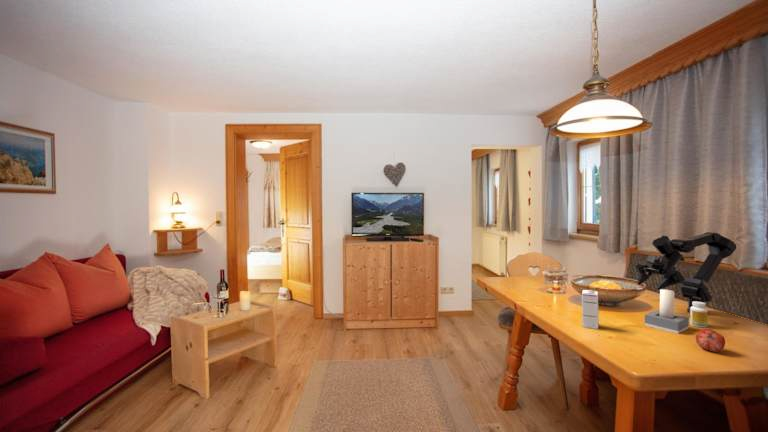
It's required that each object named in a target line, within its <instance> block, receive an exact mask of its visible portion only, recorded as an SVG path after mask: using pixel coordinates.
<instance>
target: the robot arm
mask: <svg viewBox="0 0 768 432" xmlns="http://www.w3.org/2000/svg"><path fill="white" fill-rule="evenodd" d="M652 245H653V247H654V248H655V249H656V250H657V252H658V253H659V254H660V256H656V255H650V254H648V255H646V258H645V263H647V264H643V263H637V264H636V265H635V268H634V269H636V270H637V272H638V279H637V285H638V286H640V285H642V284H643V283H645V282H646V281H647V280H648V279H650V278H651V276H652V274H653V275H654V274H655V275H657V276H662V277H663V278H662V280H661V281H660V283H658V285H657V286H656V289H657V290H658V291H660V290H661V289H665V288H668V287H670V286H674V285H678V284H681V287H680V289H681V290H680V291H681V293H682V297H683V298H687V299H688V303H687V304H688V307H687V308H686V312H687V313H690V307H692V306H693V305H692V302H693V301H698V302H703V303H705V304H706V302H707V303H708V302H709V303H710V302H712V295H711V294H710V292H709V286H708V282H709V281H710V279H711V278H712V276H713V275H714V273H715V272H716V270H717V268H718V267H719V266H720V264H721V262H722V261H723V259H725V258H728V257H731V256H732V254H734V253H735V251H736V250H737V245H736V243H735V242H734V241H733V240H731V239H729V237H728V238H727V237H725V236H722V235H721V234H720V233H718V232H712V231H710V232H708V231H706V232H704V233H701V234H698V235H695V236H692V237H687V238H674V239H671V240H670V238H669V236H667V235H661V237H657V238H656V239H654V240H653V241H652ZM703 245H707V246H708V247H707V248H708V252H709V254H708V255H707V256H706V258H705V259H704V261H703V263H702V264H701V266H700V267H699V269H698V270H697V271H696V273H695V275H694V276H693V277H686V278H685V276H684V275H683V274H682V273H681V272H680V270H677V267H676V265H677V264H678V263H679V261H681V262H685V257H684V255H683V254H684V253H686V254H689V253H690V252H692V251H694V250H695V248H696V247H701V246H703ZM682 253H683V254H682ZM648 264H650V267H649V265H648Z"/></svg>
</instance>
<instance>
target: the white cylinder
mask: <svg viewBox="0 0 768 432" xmlns="http://www.w3.org/2000/svg"><path fill="white" fill-rule="evenodd" d="M659 311H660V314H659V316H660V317H664V318H669V319H674V314H675V291H674V290H671V289H665V288H663V289H660V290H659Z"/></svg>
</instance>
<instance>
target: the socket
mask: <svg viewBox="0 0 768 432" xmlns="http://www.w3.org/2000/svg"><path fill="white" fill-rule="evenodd" d="M659 314H660V310H656V309H655V310H653V311H650V312H647V313H645V314H644V326H646V327H650V328H654V329H658V330H662V331H666V332H670V333H674V334H681V333H682V332H685V331H686V330H688V329H689V328H690V316H685V315H680V314H676V313H674V319H669V318H664V317H660V316H659Z"/></svg>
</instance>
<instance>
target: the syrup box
mask: <svg viewBox="0 0 768 432" xmlns="http://www.w3.org/2000/svg"><path fill="white" fill-rule="evenodd" d="M599 311H600V310H599V291H597V290H592V289H590V290H589V289H582V292H581V313H582V315H581V316H582V317H581V318H582V320H581V321H582V322H581V323H582V324H581V325H582V327H583V328H587V329H588V328H589V329H593V330H594V329H595V330H599V324H600V323H599V321H600V320H599V314H600V313H599Z"/></svg>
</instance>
